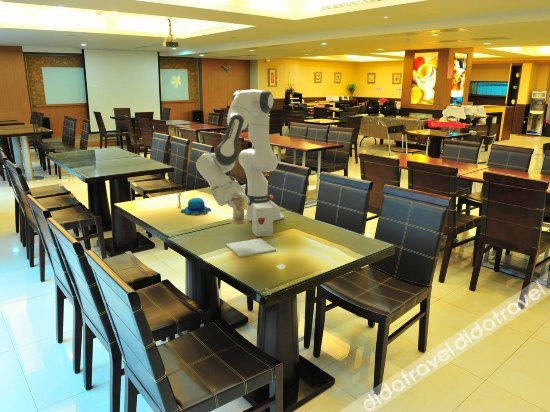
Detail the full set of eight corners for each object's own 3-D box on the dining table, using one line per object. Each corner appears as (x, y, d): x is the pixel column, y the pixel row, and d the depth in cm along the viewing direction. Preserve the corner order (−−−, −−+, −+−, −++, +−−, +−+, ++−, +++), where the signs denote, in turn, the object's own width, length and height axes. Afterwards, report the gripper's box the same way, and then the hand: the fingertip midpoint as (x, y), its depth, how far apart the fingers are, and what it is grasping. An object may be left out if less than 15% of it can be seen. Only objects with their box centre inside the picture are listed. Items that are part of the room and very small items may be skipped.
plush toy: (215, 212, 251) (215, 199, 249) (190, 217, 241) (189, 203, 239) (202, 206, 264) (201, 193, 261) (177, 210, 253) (176, 197, 251)
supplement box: (255, 237, 209) (256, 208, 205) (252, 231, 218) (252, 203, 214) (273, 235, 212) (273, 207, 208) (268, 230, 220) (269, 202, 216)
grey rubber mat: (260, 239, 206) (260, 238, 205) (275, 250, 192) (275, 249, 192) (226, 245, 198) (226, 243, 197) (239, 257, 184) (239, 255, 184)
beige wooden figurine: (243, 217, 201) (243, 191, 198) (251, 223, 194) (251, 195, 190) (226, 220, 197) (225, 193, 194) (233, 225, 190) (233, 197, 186)
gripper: (213, 184, 184) (233, 208, 183) (235, 176, 202) (253, 198, 201) (205, 193, 187) (224, 217, 186) (227, 184, 205) (245, 206, 204)
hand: (239, 207), depth 194 cm, fingers closed on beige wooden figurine, 5 cm apart
